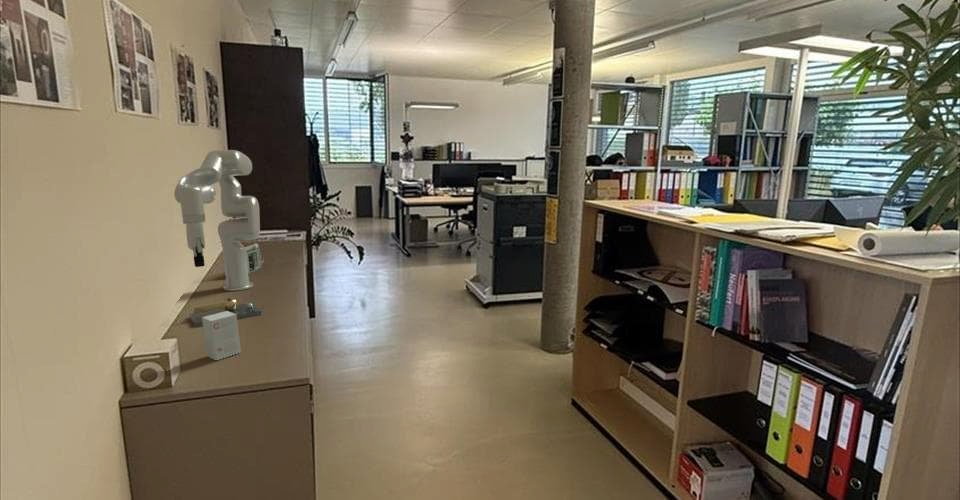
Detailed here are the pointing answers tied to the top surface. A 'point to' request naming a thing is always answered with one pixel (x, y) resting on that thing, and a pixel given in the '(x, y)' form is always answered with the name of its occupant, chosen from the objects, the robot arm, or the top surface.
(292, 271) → the top surface
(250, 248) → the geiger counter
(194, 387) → the top surface
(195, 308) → the lever with round hub
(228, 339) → the small box
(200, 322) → the flat grey rectangular plate
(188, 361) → the top surface
